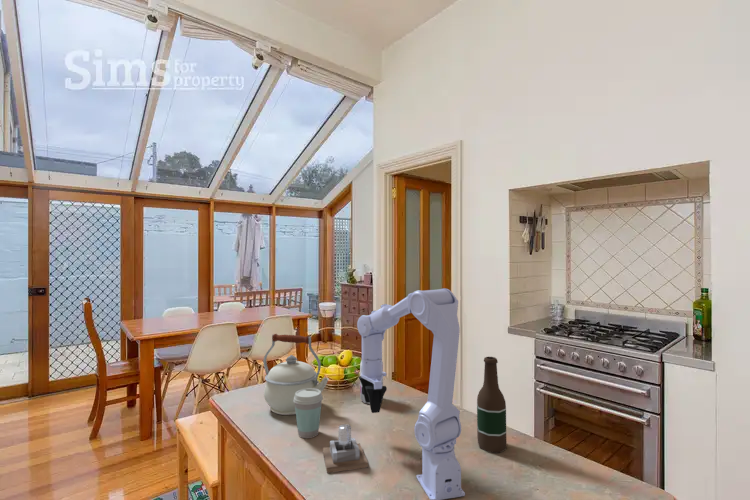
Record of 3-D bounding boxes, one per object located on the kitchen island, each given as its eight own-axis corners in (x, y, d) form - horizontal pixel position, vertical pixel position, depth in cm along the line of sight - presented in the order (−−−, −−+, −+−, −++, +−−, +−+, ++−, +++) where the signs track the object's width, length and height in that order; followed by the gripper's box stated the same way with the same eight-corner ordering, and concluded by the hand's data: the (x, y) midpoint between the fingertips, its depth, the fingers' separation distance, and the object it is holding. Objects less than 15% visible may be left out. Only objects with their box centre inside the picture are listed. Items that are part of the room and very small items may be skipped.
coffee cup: (327, 436, 111) (327, 394, 111) (298, 443, 107) (298, 399, 107) (316, 425, 119) (316, 385, 119) (289, 431, 114) (289, 390, 115)
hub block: (367, 467, 94) (367, 452, 95) (326, 472, 92) (326, 457, 92) (359, 447, 104) (359, 434, 104) (322, 452, 102) (322, 438, 102)
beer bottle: (486, 455, 100) (485, 362, 100) (471, 441, 107) (470, 355, 108) (512, 451, 102) (511, 360, 102) (496, 438, 109) (495, 353, 110)
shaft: (352, 456, 97) (352, 428, 98) (340, 458, 96) (341, 430, 96) (348, 450, 100) (348, 423, 101) (336, 453, 99) (336, 425, 99)
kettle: (248, 413, 128) (248, 338, 128) (278, 394, 145) (278, 328, 146) (316, 423, 120) (315, 343, 120) (339, 402, 137) (339, 332, 138)
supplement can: (357, 398, 141) (356, 357, 141) (377, 395, 144) (377, 354, 145) (365, 406, 133) (365, 362, 134) (387, 402, 137) (386, 360, 137)
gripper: (392, 363, 101) (393, 415, 101) (379, 350, 116) (379, 396, 115) (366, 365, 100) (367, 418, 100) (356, 352, 114) (356, 398, 114)
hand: (372, 406), depth 107 cm, fingers open, 7 cm apart
